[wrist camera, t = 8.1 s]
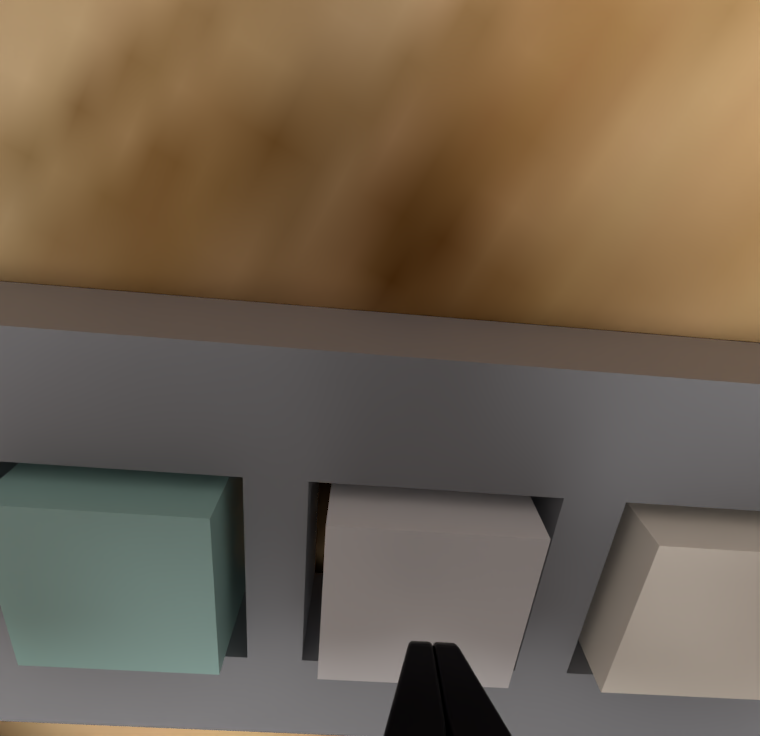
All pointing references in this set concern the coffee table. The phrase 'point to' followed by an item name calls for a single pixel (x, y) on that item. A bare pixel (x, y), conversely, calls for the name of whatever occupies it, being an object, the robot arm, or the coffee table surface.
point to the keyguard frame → (372, 479)
